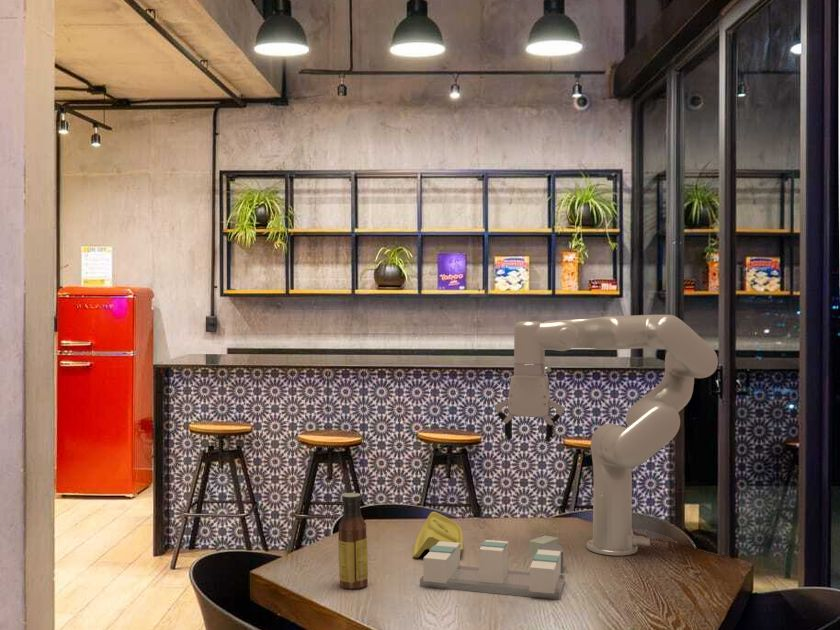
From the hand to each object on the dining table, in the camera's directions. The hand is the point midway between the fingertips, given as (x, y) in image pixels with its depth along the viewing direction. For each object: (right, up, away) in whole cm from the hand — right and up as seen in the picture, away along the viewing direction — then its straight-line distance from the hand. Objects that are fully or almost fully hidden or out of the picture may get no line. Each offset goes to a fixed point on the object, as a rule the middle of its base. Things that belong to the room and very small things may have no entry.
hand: (528, 439), depth 207 cm
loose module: (-11, -27, -24) cm, 37 cm away
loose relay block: (+4, -28, -12) cm, 31 cm away
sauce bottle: (-42, -28, -26) cm, 56 cm away
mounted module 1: (-22, -27, -21) cm, 40 cm away
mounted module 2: (0, -27, -27) cm, 38 cm away
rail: (-11, -28, -24) cm, 39 cm away
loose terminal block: (+4, -29, -1) cm, 29 cm away
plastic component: (-22, -29, +3) cm, 36 cm away
